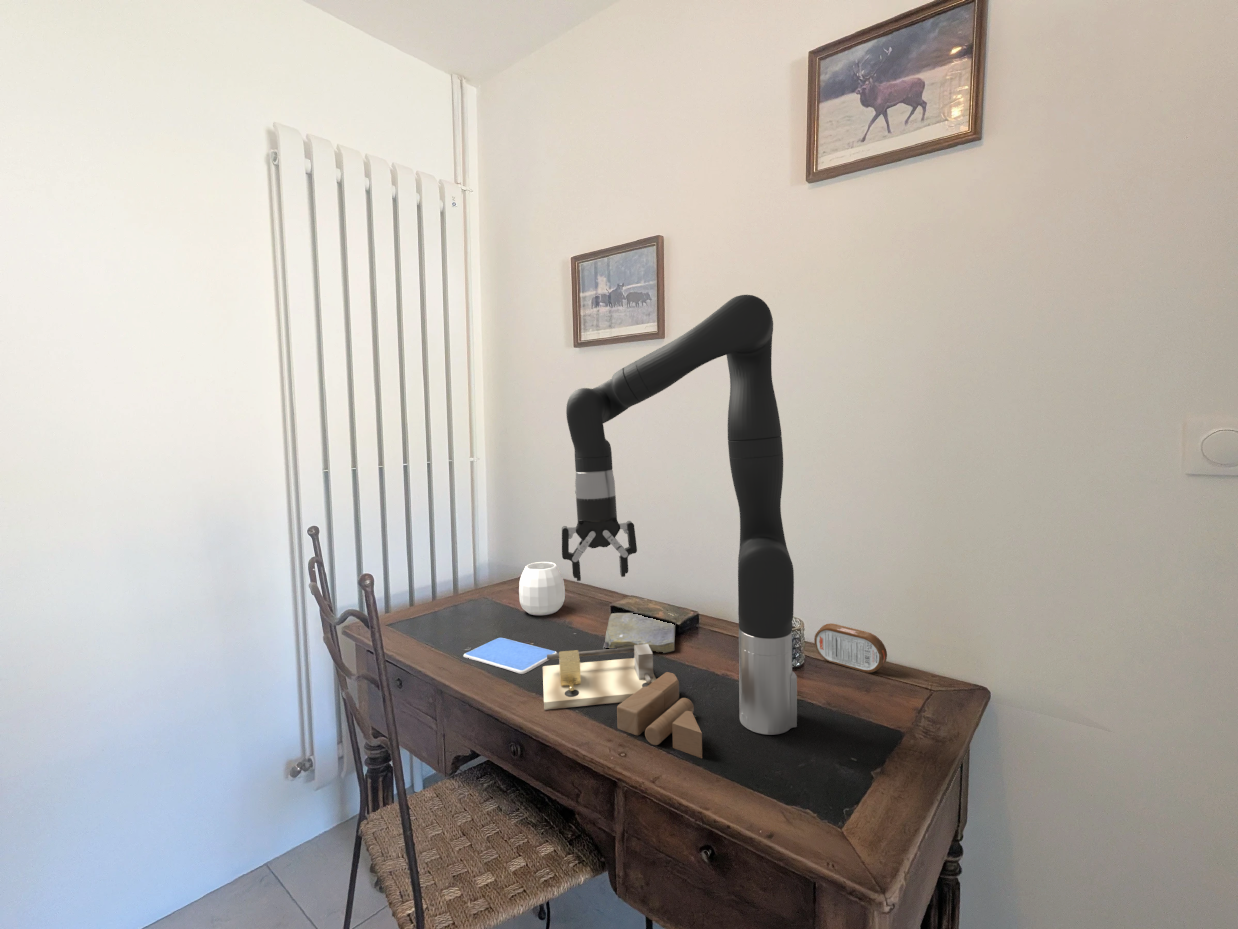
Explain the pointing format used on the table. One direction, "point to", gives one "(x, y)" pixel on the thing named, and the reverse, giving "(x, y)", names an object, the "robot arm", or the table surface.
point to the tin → (850, 647)
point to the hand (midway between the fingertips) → (601, 577)
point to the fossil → (639, 632)
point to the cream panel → (600, 679)
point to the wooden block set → (661, 715)
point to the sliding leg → (569, 668)
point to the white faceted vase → (541, 588)
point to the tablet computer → (510, 655)
